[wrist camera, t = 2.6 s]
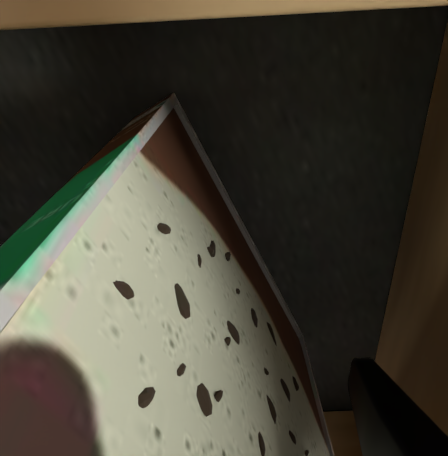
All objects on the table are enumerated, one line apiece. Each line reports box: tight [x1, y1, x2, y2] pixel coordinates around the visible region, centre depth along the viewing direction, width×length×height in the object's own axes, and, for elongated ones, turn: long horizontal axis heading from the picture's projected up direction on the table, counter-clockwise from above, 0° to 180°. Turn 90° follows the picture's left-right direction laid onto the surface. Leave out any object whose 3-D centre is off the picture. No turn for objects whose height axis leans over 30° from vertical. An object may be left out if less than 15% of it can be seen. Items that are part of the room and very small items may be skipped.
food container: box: [0, 93, 335, 456], centre depth 9 cm, size 12×6×10 cm, turn 25°
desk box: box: [0, 0, 448, 456], centre depth 11 cm, size 16×17×5 cm
